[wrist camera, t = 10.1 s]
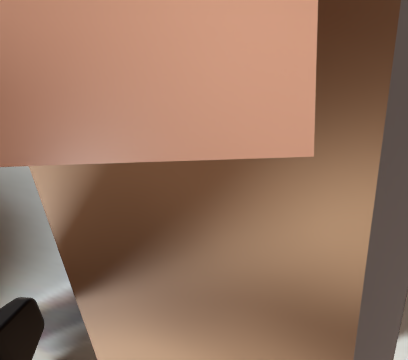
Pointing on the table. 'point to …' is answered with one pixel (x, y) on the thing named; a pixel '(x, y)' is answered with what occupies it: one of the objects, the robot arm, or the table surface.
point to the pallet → (237, 225)
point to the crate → (156, 80)
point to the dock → (388, 221)
